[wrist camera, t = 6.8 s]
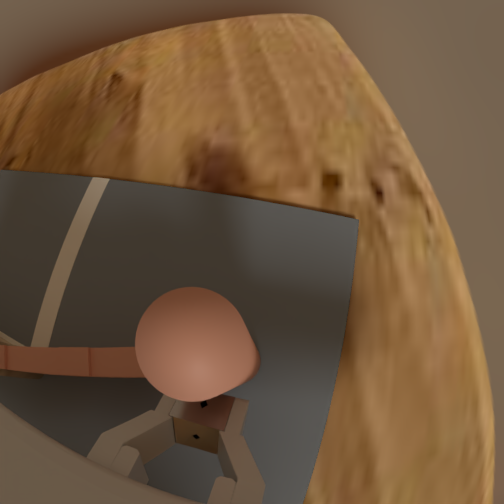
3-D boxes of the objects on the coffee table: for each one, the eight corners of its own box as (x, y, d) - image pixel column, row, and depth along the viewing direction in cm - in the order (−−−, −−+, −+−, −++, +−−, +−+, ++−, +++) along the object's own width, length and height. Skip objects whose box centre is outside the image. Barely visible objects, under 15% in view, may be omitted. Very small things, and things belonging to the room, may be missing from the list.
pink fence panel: (263, 381, 15) (255, 396, 6) (49, 383, 15) (-84, 365, 6) (257, 336, 16) (242, 280, 7) (48, 346, 16) (-81, 306, 7)
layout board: (292, 527, 12) (293, 531, 12) (-59, 353, 16) (-63, 352, 16) (357, 223, 19) (359, 219, 18) (3, 172, 23) (0, 169, 23)
